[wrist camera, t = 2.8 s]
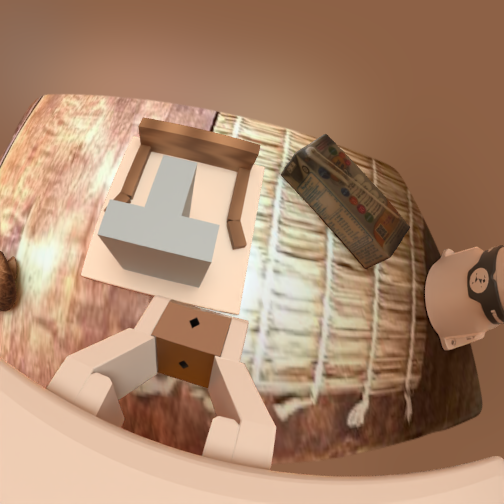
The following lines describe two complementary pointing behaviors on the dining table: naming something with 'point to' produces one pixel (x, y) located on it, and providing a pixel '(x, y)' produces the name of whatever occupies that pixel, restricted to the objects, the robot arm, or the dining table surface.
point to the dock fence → (200, 150)
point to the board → (202, 208)
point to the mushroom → (7, 282)
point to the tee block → (162, 229)
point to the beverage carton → (346, 200)
